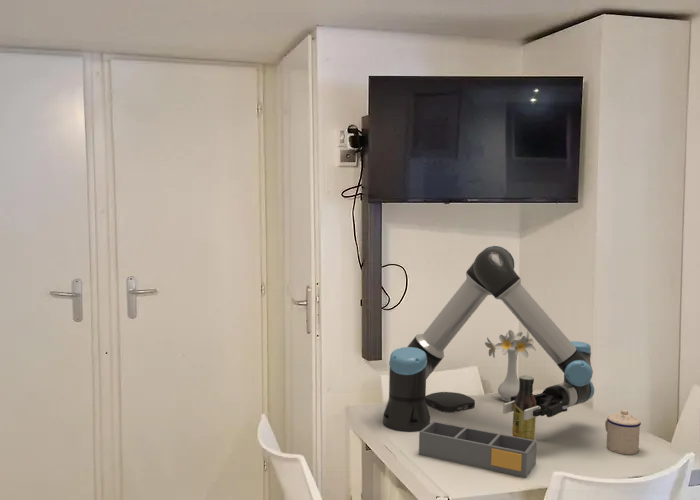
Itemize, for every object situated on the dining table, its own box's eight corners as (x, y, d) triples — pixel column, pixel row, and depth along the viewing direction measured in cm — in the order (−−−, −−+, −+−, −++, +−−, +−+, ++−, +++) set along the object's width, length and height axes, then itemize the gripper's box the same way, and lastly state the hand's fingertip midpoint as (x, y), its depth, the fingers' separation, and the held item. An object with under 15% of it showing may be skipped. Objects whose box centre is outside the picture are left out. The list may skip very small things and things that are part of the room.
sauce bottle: (511, 439, 197) (513, 373, 195) (532, 440, 196) (535, 374, 195) (513, 447, 191) (516, 379, 189) (535, 449, 190) (538, 380, 188)
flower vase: (477, 397, 243) (480, 329, 241) (519, 392, 250) (522, 326, 248) (499, 408, 231) (501, 337, 229) (542, 403, 238) (545, 333, 236)
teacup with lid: (646, 453, 193) (648, 414, 192) (619, 456, 190) (622, 416, 189) (618, 438, 204) (620, 401, 203) (592, 441, 201) (594, 403, 200)
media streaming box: (452, 397, 245) (452, 389, 244) (479, 408, 232) (479, 399, 232) (420, 402, 237) (420, 394, 237) (446, 414, 225) (446, 406, 224)
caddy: (418, 454, 188) (418, 432, 188) (432, 442, 198) (433, 421, 198) (525, 478, 174) (526, 453, 174) (535, 463, 184) (536, 440, 183)
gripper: (587, 417, 198) (543, 434, 182) (531, 401, 212) (486, 415, 197) (588, 392, 197) (544, 407, 182) (532, 378, 211) (487, 390, 196)
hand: (514, 411), depth 189 cm, fingers closed on sauce bottle, 6 cm apart
